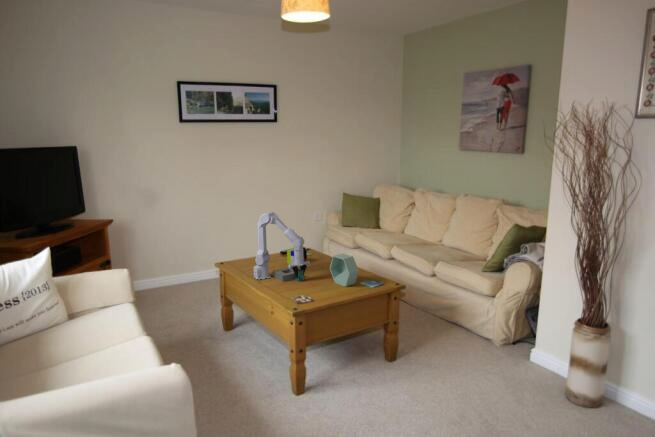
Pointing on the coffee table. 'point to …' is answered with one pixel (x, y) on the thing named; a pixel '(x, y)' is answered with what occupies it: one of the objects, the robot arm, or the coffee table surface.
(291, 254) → the puzzle toy
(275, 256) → the coffee table surface
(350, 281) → the planter
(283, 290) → the coffee table surface
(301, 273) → the teal peg
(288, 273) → the well block
